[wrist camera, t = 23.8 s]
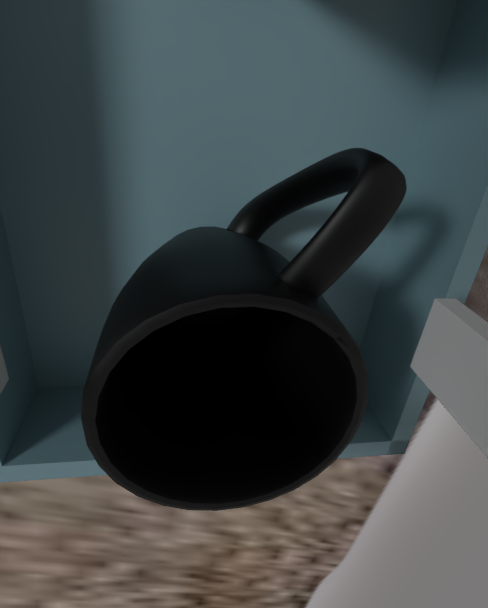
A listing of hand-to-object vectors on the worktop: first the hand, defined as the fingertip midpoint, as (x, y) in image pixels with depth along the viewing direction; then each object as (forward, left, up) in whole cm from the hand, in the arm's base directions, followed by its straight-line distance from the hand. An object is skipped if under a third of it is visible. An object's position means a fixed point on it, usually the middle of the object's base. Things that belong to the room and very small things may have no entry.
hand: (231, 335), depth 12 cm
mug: (0, +1, -8) cm, 8 cm away
